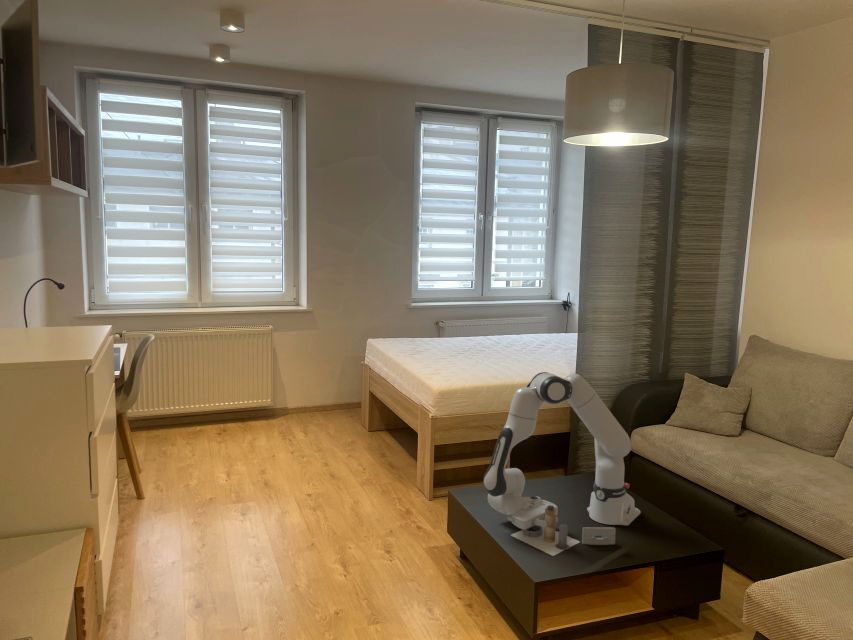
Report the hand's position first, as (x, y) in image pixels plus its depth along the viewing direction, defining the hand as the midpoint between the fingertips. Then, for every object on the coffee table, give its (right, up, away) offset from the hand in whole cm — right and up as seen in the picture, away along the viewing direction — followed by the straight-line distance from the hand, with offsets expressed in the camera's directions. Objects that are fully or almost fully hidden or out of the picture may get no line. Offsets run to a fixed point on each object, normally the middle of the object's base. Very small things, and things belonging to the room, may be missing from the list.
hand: (552, 522), depth 236 cm
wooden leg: (-1, -7, +2) cm, 7 cm away
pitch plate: (-2, -8, +3) cm, 9 cm away
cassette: (+17, -9, 0) cm, 19 cm away
